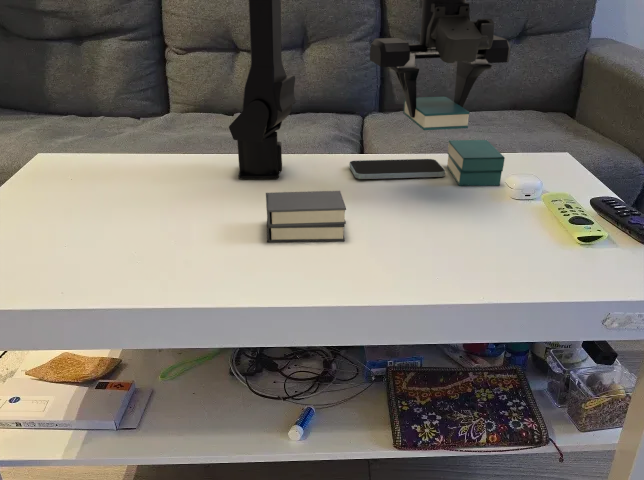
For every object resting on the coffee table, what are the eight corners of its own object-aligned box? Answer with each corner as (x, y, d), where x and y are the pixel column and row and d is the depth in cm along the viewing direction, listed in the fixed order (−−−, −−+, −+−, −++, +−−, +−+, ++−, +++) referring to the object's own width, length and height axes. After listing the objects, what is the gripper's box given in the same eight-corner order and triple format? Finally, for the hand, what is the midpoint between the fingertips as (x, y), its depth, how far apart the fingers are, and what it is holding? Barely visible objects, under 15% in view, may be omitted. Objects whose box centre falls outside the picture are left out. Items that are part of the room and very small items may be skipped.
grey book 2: (267, 242, 86) (266, 226, 85) (268, 223, 92) (267, 207, 90) (344, 241, 87) (344, 225, 86) (341, 222, 92) (341, 207, 91)
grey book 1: (267, 226, 85) (267, 210, 84) (266, 208, 90) (265, 192, 89) (345, 224, 86) (346, 207, 85) (339, 206, 91) (340, 190, 90)
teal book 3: (499, 185, 106) (501, 171, 105) (459, 185, 106) (460, 172, 104) (484, 166, 114) (486, 153, 113) (446, 166, 114) (448, 153, 112)
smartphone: (447, 172, 108) (356, 174, 106) (446, 177, 109) (356, 180, 107) (434, 158, 114) (348, 160, 112) (433, 163, 115) (348, 166, 113)
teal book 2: (502, 171, 105) (504, 157, 104) (462, 172, 104) (463, 158, 103) (484, 153, 113) (486, 139, 112) (447, 153, 112) (448, 140, 111)
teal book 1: (403, 113, 101) (404, 98, 99) (444, 111, 102) (445, 96, 101) (423, 130, 93) (425, 113, 91) (467, 128, 94) (469, 111, 92)
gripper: (396, -1, 80) (390, 134, 89) (538, -3, 84) (518, 126, 92) (370, -9, 89) (367, 114, 97) (499, -11, 92) (485, 108, 101)
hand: (434, 116), depth 97 cm, fingers closed on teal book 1, 6 cm apart
